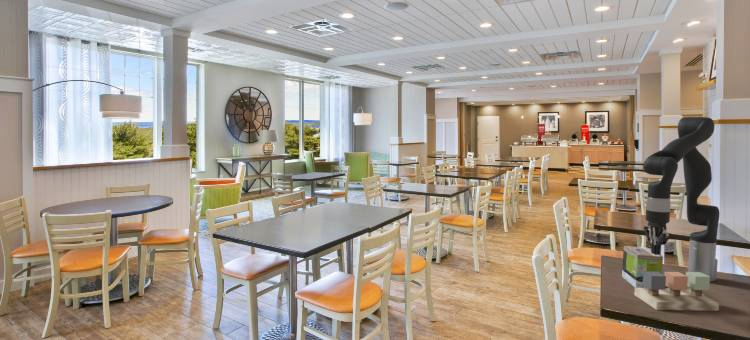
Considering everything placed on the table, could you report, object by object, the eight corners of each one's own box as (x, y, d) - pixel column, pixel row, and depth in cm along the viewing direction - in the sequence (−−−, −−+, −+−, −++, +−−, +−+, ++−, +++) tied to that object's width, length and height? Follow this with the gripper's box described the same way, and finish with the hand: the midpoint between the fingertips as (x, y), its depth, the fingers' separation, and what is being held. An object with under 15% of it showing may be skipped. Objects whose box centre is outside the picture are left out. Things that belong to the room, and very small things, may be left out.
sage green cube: (698, 285, 159) (699, 272, 158) (709, 290, 153) (710, 276, 153) (685, 284, 159) (685, 271, 158) (694, 290, 154) (695, 276, 153)
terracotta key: (677, 284, 159) (678, 271, 158) (687, 289, 154) (687, 276, 153) (663, 284, 159) (664, 271, 159) (672, 289, 154) (673, 276, 154)
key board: (690, 295, 163) (692, 278, 163) (718, 310, 150) (719, 292, 149) (634, 294, 165) (635, 278, 164) (656, 309, 151) (657, 291, 150)
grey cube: (656, 284, 159) (657, 271, 159) (665, 289, 154) (665, 276, 154) (642, 284, 160) (643, 271, 159) (651, 289, 154) (651, 276, 154)
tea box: (662, 290, 169) (664, 256, 167) (635, 289, 171) (636, 254, 169) (645, 278, 183) (647, 246, 182) (621, 276, 185) (622, 245, 184)
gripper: (680, 212, 147) (677, 259, 149) (657, 206, 161) (654, 249, 162) (659, 212, 148) (656, 259, 149) (637, 206, 161) (635, 249, 163)
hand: (655, 254), depth 156 cm, fingers closed
